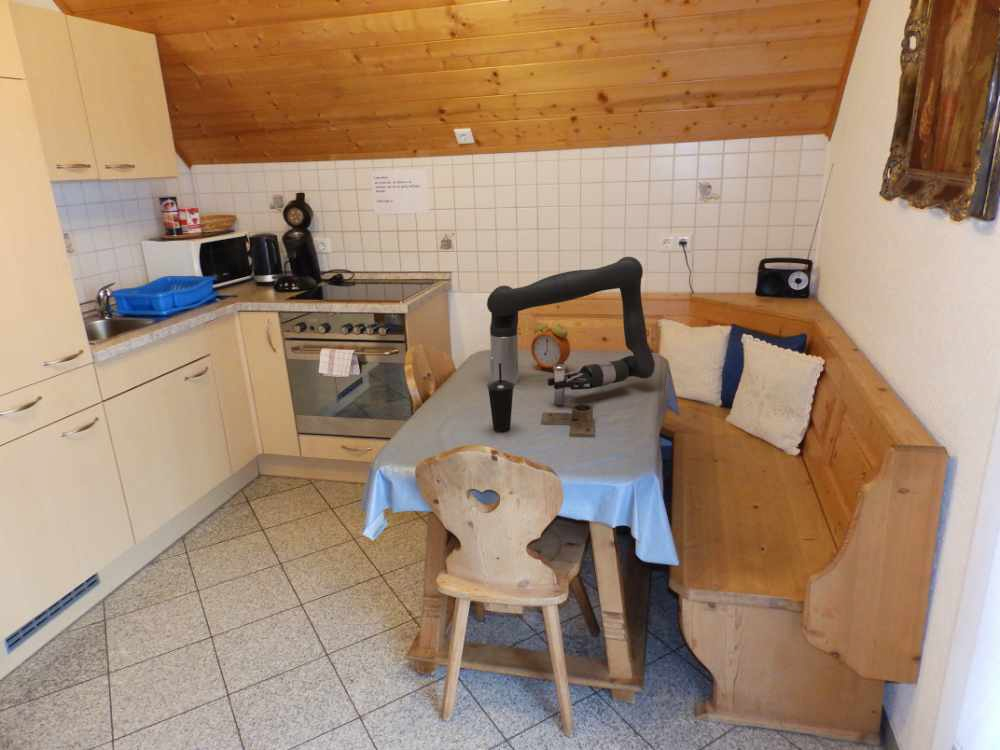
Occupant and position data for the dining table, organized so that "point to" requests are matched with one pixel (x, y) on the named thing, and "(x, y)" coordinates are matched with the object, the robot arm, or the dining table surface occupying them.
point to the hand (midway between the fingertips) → (551, 384)
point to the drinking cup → (501, 403)
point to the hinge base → (573, 420)
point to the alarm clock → (550, 346)
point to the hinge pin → (558, 376)
